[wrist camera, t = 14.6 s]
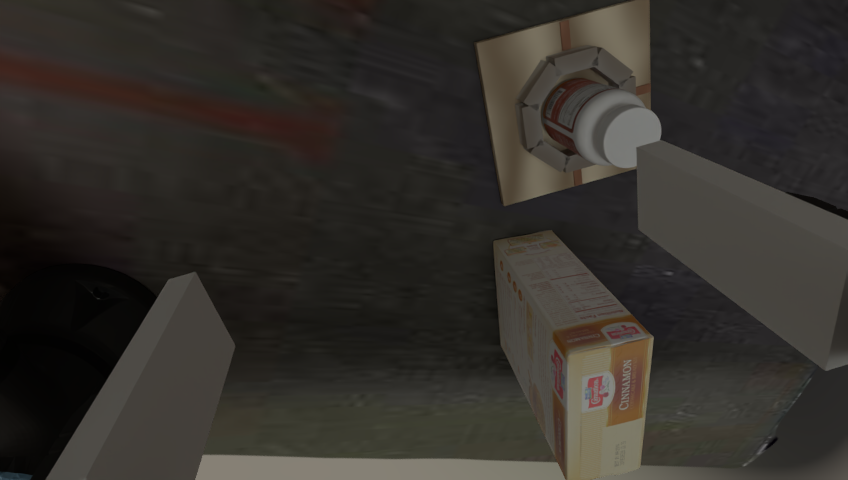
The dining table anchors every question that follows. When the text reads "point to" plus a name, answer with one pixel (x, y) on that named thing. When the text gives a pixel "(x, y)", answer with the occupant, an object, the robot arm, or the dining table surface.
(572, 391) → the coffeecake box
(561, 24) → the socket
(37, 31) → the dining table surface
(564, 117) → the pill bottle
